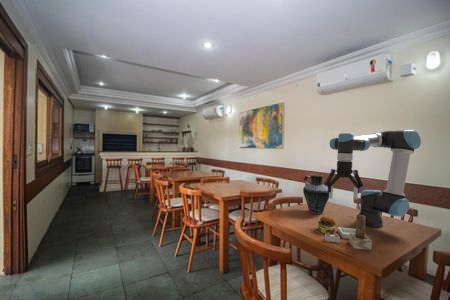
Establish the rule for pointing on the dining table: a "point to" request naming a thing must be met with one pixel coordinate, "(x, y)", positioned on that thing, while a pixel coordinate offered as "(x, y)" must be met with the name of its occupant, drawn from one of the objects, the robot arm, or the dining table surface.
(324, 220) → the cheeseburger
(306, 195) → the jug
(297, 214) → the dining table surface
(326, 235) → the rail
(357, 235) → the dowel
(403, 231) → the dining table surface
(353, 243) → the jig block
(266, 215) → the dining table surface
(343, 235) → the tray
